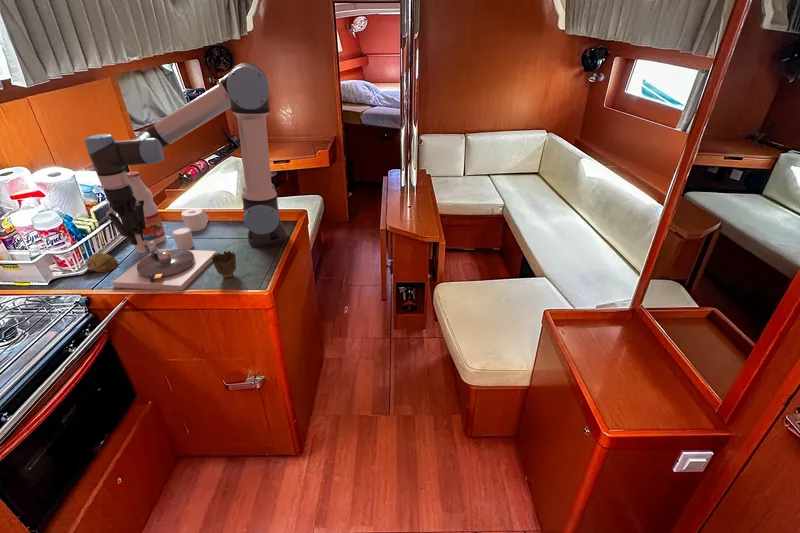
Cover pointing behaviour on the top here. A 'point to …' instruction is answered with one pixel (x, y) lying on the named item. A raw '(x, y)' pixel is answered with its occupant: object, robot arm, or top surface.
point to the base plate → (168, 283)
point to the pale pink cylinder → (183, 238)
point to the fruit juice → (147, 210)
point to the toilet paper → (195, 219)
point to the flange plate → (169, 267)
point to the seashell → (101, 262)
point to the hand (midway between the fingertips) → (141, 251)
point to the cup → (225, 263)
